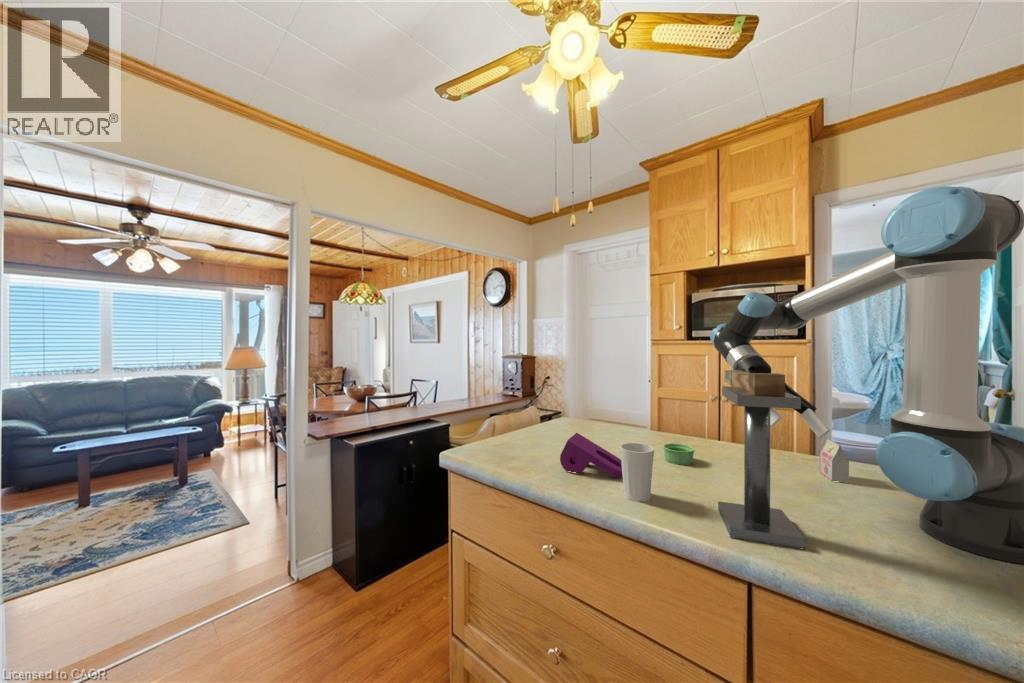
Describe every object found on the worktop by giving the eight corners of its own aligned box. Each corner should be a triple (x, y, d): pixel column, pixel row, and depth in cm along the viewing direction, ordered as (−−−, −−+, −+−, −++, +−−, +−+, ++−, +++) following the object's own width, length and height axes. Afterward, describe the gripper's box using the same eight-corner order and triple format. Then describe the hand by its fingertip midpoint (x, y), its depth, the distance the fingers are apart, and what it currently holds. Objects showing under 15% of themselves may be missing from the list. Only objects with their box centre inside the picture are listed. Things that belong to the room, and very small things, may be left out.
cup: (619, 500, 87) (619, 450, 87) (621, 487, 95) (621, 441, 95) (654, 505, 84) (654, 454, 84) (653, 491, 92) (653, 444, 92)
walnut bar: (785, 396, 68) (785, 374, 68) (754, 395, 69) (754, 374, 69) (742, 382, 89) (742, 366, 89) (720, 382, 90) (719, 366, 90)
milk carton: (835, 474, 103) (835, 439, 103) (848, 483, 97) (849, 446, 97) (819, 473, 104) (819, 438, 104) (832, 481, 98) (832, 444, 98)
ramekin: (692, 468, 109) (692, 453, 109) (660, 462, 114) (660, 448, 114) (696, 459, 116) (696, 445, 116) (666, 454, 121) (666, 441, 121)
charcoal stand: (807, 552, 66) (807, 398, 65) (731, 540, 70) (731, 395, 69) (778, 515, 79) (778, 387, 79) (716, 507, 83) (716, 385, 83)
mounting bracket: (617, 488, 108) (565, 454, 116) (630, 465, 107) (576, 432, 114) (611, 501, 100) (555, 464, 107) (625, 476, 98) (567, 440, 105)
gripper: (775, 385, 102) (830, 448, 85) (701, 364, 97) (743, 427, 79) (795, 366, 97) (857, 428, 80) (719, 343, 92) (768, 404, 75)
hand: (801, 428), depth 80 cm, fingers open, 13 cm apart
